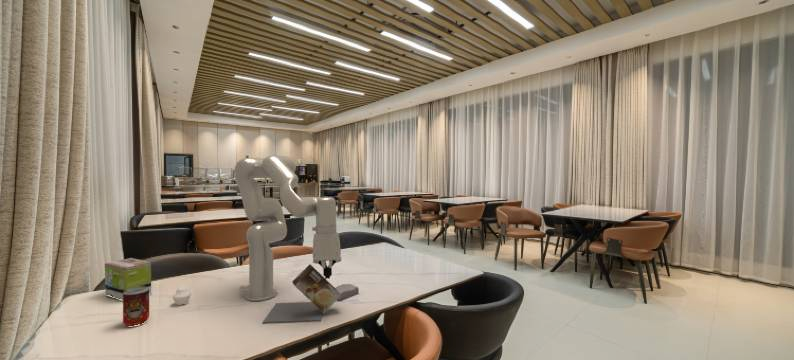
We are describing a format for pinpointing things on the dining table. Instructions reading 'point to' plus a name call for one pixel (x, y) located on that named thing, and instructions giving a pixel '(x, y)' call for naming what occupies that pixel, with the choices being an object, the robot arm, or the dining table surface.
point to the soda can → (135, 305)
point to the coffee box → (316, 288)
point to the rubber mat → (294, 313)
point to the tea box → (126, 276)
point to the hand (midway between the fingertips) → (327, 277)
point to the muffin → (181, 296)
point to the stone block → (347, 291)
